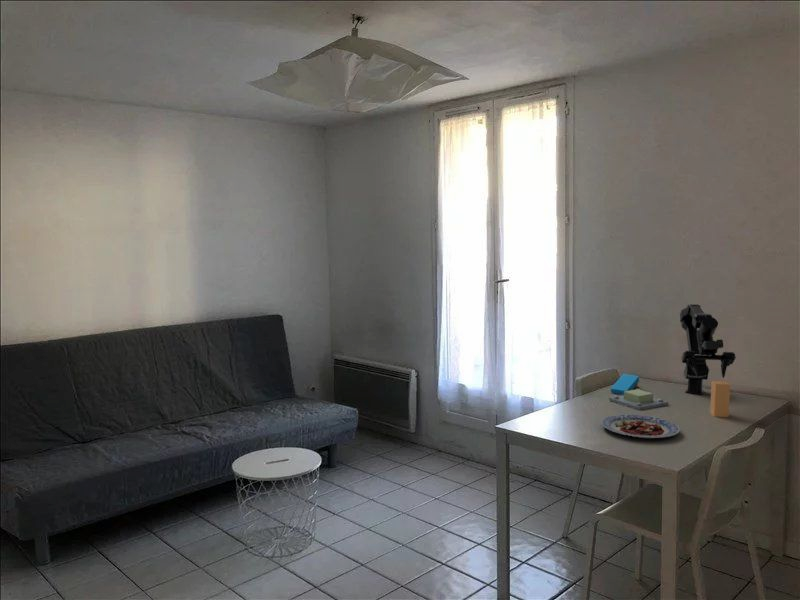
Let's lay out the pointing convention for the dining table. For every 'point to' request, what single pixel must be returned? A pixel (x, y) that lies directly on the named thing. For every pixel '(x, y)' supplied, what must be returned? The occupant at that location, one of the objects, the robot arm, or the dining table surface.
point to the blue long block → (625, 384)
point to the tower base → (639, 405)
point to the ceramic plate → (640, 426)
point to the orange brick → (720, 399)
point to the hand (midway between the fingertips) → (710, 376)
